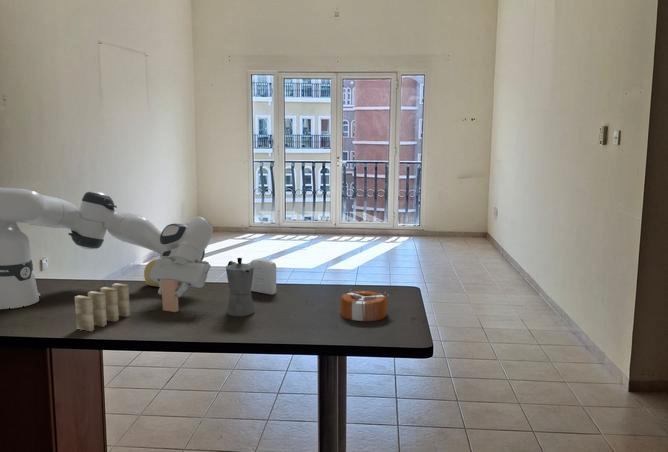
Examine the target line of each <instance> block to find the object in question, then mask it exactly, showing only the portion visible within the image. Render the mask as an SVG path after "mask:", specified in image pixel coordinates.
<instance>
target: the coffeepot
mask: <svg viewBox="0 0 668 452" xmlns="http://www.w3.org/2000/svg"><path fill="white" fill-rule="evenodd" d="M236 260H237V262H235V261H233V260H230V261H228V263H227V265H225V269H226V278H227V282H228V288H229V294H228V301H227V309H226V311H227V315H229V316H231V317H246V316H250V315H252V314H254V313H255V308H254V301H253V297H252V291H251V287H252V279H253V271H254V266H253V265H250V263H249V264H248V263H243V258H242V257H237V258H236Z"/></svg>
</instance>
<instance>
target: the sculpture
mask: <svg viewBox="0 0 668 452" xmlns="http://www.w3.org/2000/svg"><path fill="white" fill-rule="evenodd" d="M160 258H161V257H160V256H159V257H158V258H154V259H152V260H150V261H149V262H148V263H147V264H146V265H145V267H144V270H143V277H144V281H145V283H146V284H147V285H148V286H151V287H155V288H156V287H158V288H160V287H159V283H158V282H154V281H153V280H152V279H151V278H150V277H149V273H150V271H151V269H152V267H153V265H154V264H155V262H156V261H157V260H158V259H160Z"/></svg>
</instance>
